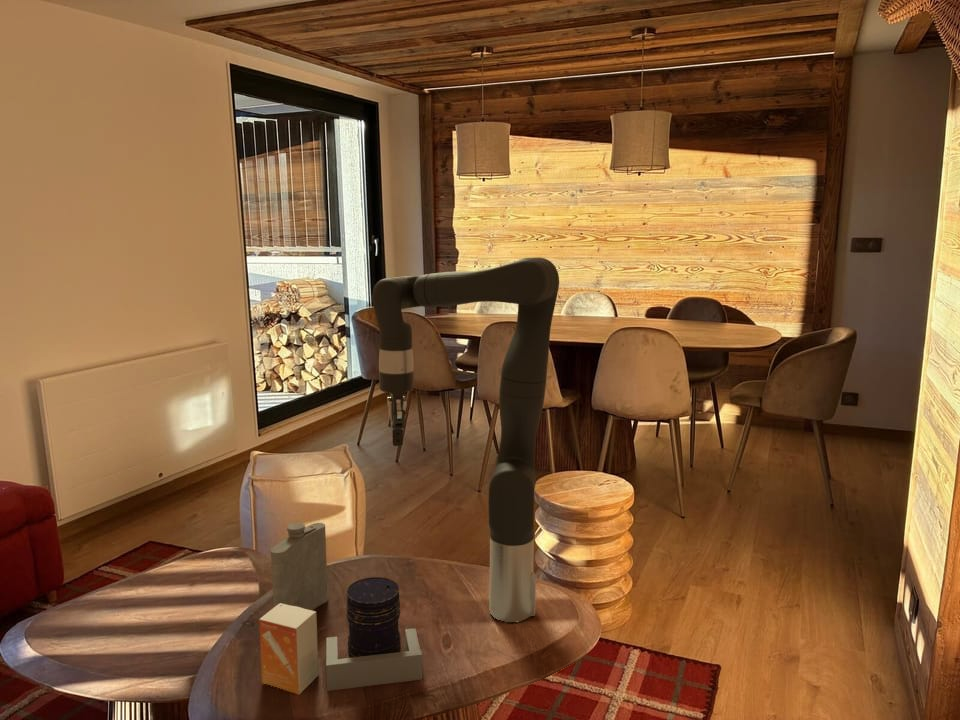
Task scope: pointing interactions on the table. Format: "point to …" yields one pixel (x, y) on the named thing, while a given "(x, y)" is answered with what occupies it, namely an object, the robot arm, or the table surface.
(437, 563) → the table surface
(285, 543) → the hip flask
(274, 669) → the small box
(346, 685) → the grey u-shaped frame
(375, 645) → the black ribbed barrel
